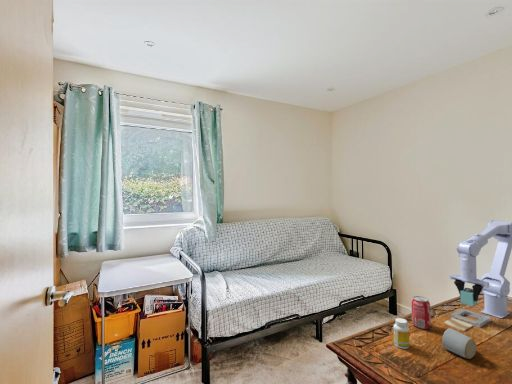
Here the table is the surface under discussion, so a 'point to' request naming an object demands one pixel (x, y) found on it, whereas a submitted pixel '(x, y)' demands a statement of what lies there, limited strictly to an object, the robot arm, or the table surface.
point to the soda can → (421, 312)
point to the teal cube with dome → (467, 297)
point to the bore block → (478, 323)
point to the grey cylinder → (459, 343)
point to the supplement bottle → (401, 333)
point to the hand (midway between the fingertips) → (468, 298)
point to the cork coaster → (458, 324)
